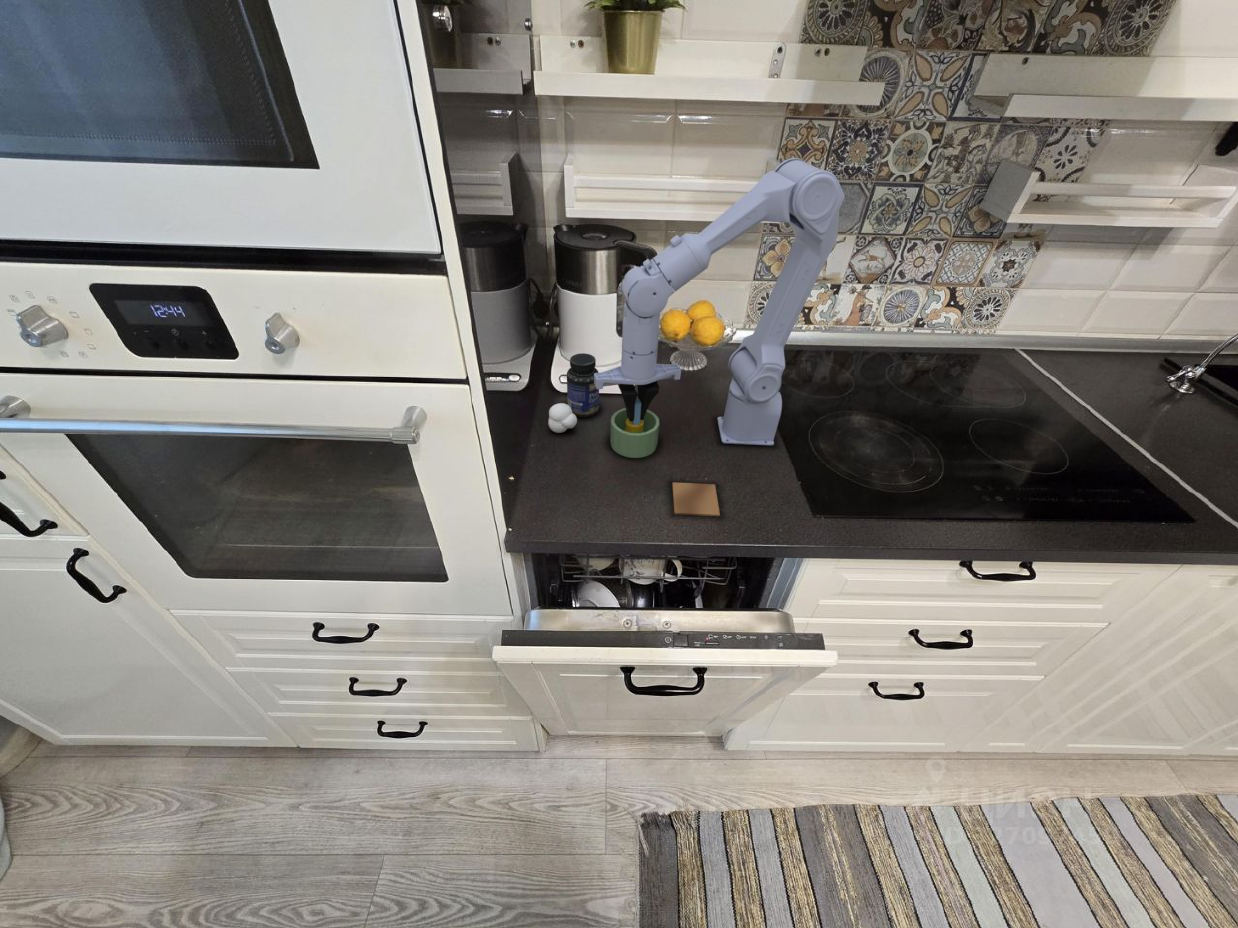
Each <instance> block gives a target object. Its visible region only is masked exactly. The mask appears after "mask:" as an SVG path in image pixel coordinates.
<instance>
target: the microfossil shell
mask: <svg viewBox="0 0 1238 928" xmlns="http://www.w3.org/2000/svg"><path fill="white" fill-rule="evenodd" d="M577 418H578V417H576V416H575V415H574V414H573V413H572V409H571V408H570V406H568V403H567V404H566V403H565V402H564V403H563V402H560V403H556V404H553V405H552V406H551V407H550V408H549V409H548V419H547V420H548V423H547V425H548V427H549V429H550V430H551V431H552V432H554V433H557V434H560V433H564V432H566V431H567V430H569V429H573V428H575V427H576V425H577V423H578V419H577Z"/></svg>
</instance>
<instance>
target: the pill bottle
mask: <svg viewBox="0 0 1238 928" xmlns="http://www.w3.org/2000/svg"><path fill="white" fill-rule="evenodd" d="M569 366H570V368H568V370H567V372H566V393H567V397H566V398H567V405H568V406H570V408H571V409H572V413H573V414H574V415H575V416H576V418H583V419H584V418H590V417H593V416H595V415H596V414H598V412H599V410H600V389H596V387H595V384H594V373H600V372H599V370H598V369H597V368H596V357H595V355H592V354H590V353H576V354H574V355H572V356H570V358H569Z"/></svg>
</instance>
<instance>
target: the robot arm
mask: <svg viewBox="0 0 1238 928" xmlns="http://www.w3.org/2000/svg"><path fill="white" fill-rule="evenodd" d="M845 198H846V196H845V193H844V191H843V189H842V186H841V184H840V182H839V180H838V177H836V175H835V174H834V173H833V172H831V171H829V170H826V169H825V170H824V169H822V168H819V167H816V166H814V165H812V164H810V163H808V162H807V161H805V160H804V159H802V158H799V157H791V158H787V159H785V160H783V161H782V162H780V163H779V164H778V165H777V166H776V167H775V169H774V170H773V169H772V170H769V171H768V172H766V173H765V174H763V175H762V176H761V178H760V179H759V180H758V181H757V183H756V184H755V185H754V186H753V187H752V188H751V189H749V191H747V192H746V193H745V194H744V195H743V196H742V197H740V198H739V199H738V200H737V201H736V202H734V204H732V205H731V206H730V207H729V208H728V209H726V210H725V211H724V212H723V213H722V214H720V215H719V216H718V217H717V218H716V219H714V220H713V221H711V223H710V224H709V225H707V226H706V227H705V228H704V229H702V230H701V232H699V233H691V232H690V233H689V232H686V233H684V234H683V235H681V236H679V235H678V234H676V235H675V236H673V237H672V238H671V239H670V240H669V242H670V244H669V245H668V246H666V248H664V249H663V250H661V251H660V252H659V253H658V254H656V255H655V256H654V257H652V258H651V259H649V258H647V259H646V260H644V261H643V262H642V265H640V266H639V265H638V266H637V265H636V266H635V267H633V268H631V269H629V270H628V271H627V272H626V273H625V274H624V276H623V277H624V278H623V279H622V282H620V284H619V287H620V291H621V294H622V295H623V297H624V299H625V301H624V308H623V318H622V334H621V335H622V336H621V359H620V362H621V363H620V365H619V366H616V367H613V368H611V369H607V370H605V371H601V372H599V373H594V384H595V387H596V389H599V390H603V389H604V387H611V386H618V389H619V391H620V393H621V396H622V399H623V402H624V406H625V408H626V412H627V417H628V419H629V421H634V417H635V403H636V398H637V397H638V398H639V400H640V402H641V415H640V420H643V419H644V417H645V414H646V411H647V410H649V407H650V405H651V403H652V401H653V400H654V398H655V397H656V396H657V395H658V394H659V392H660V385H659V383H658V381H661V380H671V379H673V380H674V381H679V380H681V376H682V367H680V366H679V365H678V363H674V364H673V363H672V364H670V363H669V364H667V363H657V362H658V361H657V359H658V349H659V337H660V326H661V320H660V318H661V313H662V312H663V311H664V310H665V308H666V306H667V303H668V300H669V298H670V297H672V295H673V294H675V293H676V292H677V291H679V290H680V289H681V288H682V287H684V286H685V285H686V284H688V283H690V282H691V281H692V280H693V279H695V278H696V277H697V276H699V275H700V274H702V273H703V272H705V270H707V269H708V268H709V265H710V262H711V258H712V256H713V254H715V253H717V252H718V251H719V250H721V249H723V248H724V247H726V246H727V245H729V244H731V243H733V241H735V240H737V239H738V238H739V237H741V236H742V235H744V234H745V233H747V232H749V231H751V230H752V229H753V228H755V227H756V226H758V225H759V224H760V223H763V222H770V223H784V224H785V223H787V224H789V226H790V229H791V231H792V233H793V235H794V240H793V243H792V245H791V248H790V250H789V252H788V254H787V256H786V258H785V261H784V263H783V266H782V268H781V270H780V272H779V275H778V277H777V279H776V281H775V284H774V286H773V288H772V290H771V292H770V295H769V297H768V299H767V302H766V304H765V306H764V308H763V310H762V312H761V315H760V318H759V320H758V322H757V324H756V327H755V329H754V331H753V333H752V334H749V335H747V336H745V337H743V338H742V341H741V343H740V345H739V347H737V348H736V350H735V351H734V352H732V354H731V355H730V357H729V359H728V363H727V369H728V371H729V372H730V374H731V375H732V376H731V382H730V384H729V388H728V393H727V398H726V402H725V403H726V404H725V407H724V413H723V416H718V417H717V419H716V420H717V425H718V430H719V436H720V440H721V443H723V444H727V445H728V444H730V445H732V444H733V445H749V446H751V445H752V446H769V447H770V446H774V445H775V441H774V440H775V436H776V432H777V429H778V426H779V422H780V419H781V415H782V409H783V399H782V394H781V392H780V390H781V386H782V375H783V373H784V371H785V369H786V359H785V346H786V344H787V342H788V340H789V338H790V336H791V333H792V331H793V330H794V328H795V325H796V323H797V322H798V319H799V317H800V315H801V313H802V311H803V309H804V307H805V305H806V303H807V301H808V299H809V297H810V294H811V292H812V291H813V288H814V286H815V285H816V282H817V281H818V278H819V276H820V274H821V272H822V270H823V268H824V266H825V264H826V262H827V260H828V257H829V255H830V253H831V251H832V249H833V247H834V246H835V243H836V241H837V239H838V235H839V221H840V219H839V217H840V209H841V207H842V205H843V202H844V200H845ZM636 386H637V390H636Z"/></svg>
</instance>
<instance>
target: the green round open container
mask: <svg viewBox="0 0 1238 928" xmlns="http://www.w3.org/2000/svg"><path fill="white" fill-rule="evenodd" d="M627 419H628V417H627V412H626V407H624V408H620V409H619V410H617V411H615V412H614V413H613V414H612V415H611V417H610V439H609V440H610V441H609V442H610V447H611V448H612V450H613V451H614V452H615V453H617V454H618V455H620V456H622V457H625V458H630V459H641V458H644V457H645V458H646V457H648V456H650V455H652V454H653V453H654V452H655V451H656V449H657V447H658V442H659V433H660V418H659V417H658V415H657V414H656V413H654V412H653V411H652V410H649V409H647V411H646V414H645V417H644V419H643V421H644V427H643V433H630V432H626V431H625V428H626V420H627Z"/></svg>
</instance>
